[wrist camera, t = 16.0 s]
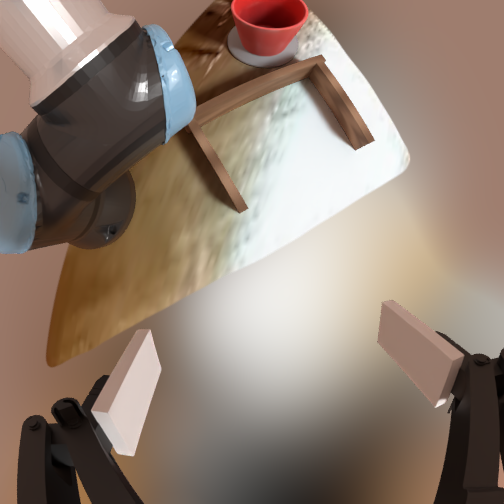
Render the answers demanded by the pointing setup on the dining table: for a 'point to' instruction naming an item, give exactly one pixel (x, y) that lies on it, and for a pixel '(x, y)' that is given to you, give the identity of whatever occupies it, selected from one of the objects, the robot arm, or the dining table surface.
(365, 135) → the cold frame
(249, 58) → the slate mat
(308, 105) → the dining table surface
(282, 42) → the flower pot
